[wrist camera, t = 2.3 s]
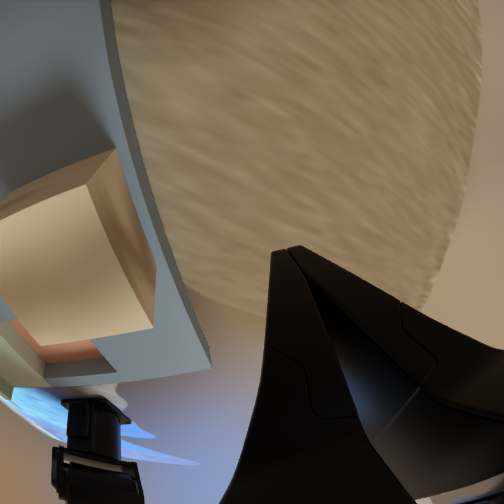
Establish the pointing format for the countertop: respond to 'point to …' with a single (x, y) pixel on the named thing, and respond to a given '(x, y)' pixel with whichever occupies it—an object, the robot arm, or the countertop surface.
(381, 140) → the countertop surface
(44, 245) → the maple block
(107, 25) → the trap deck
